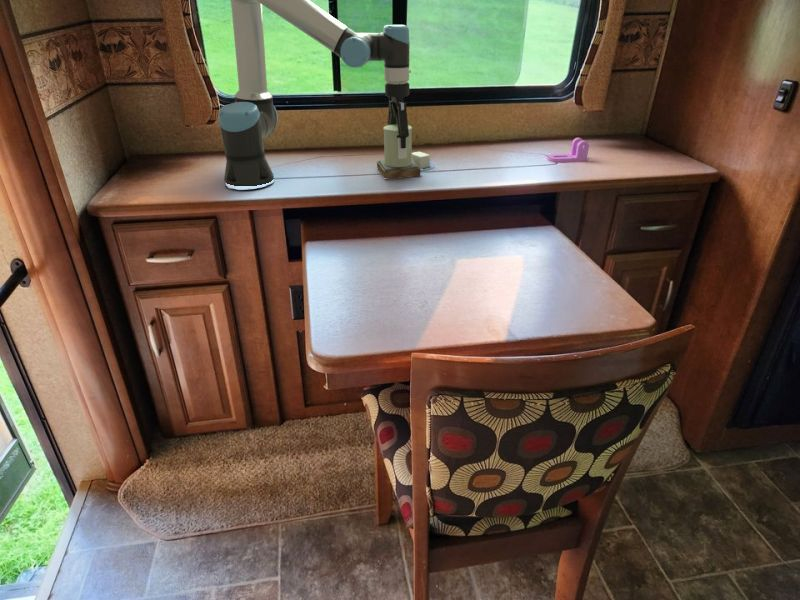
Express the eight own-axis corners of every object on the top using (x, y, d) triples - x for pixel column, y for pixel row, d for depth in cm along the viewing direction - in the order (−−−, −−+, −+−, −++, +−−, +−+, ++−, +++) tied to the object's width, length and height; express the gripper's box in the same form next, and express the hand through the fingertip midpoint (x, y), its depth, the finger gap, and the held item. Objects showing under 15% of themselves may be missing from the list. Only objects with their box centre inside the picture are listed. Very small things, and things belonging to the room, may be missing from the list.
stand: (384, 179, 166) (384, 170, 165) (377, 168, 176) (376, 159, 175) (420, 176, 169) (420, 167, 167) (411, 165, 179) (411, 157, 177)
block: (420, 168, 176) (420, 157, 174) (410, 164, 180) (410, 153, 178) (429, 166, 178) (429, 155, 176) (419, 162, 182) (419, 151, 180)
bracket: (579, 157, 186) (582, 137, 183) (586, 161, 181) (589, 141, 178) (544, 158, 185) (547, 138, 181) (550, 163, 180) (553, 142, 177)
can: (417, 162, 172) (417, 124, 166) (400, 169, 165) (400, 130, 159) (395, 158, 176) (395, 121, 170) (378, 164, 170) (377, 126, 164)
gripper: (419, 87, 149) (418, 162, 160) (400, 76, 169) (400, 143, 180) (393, 88, 147) (395, 164, 158) (377, 77, 168) (379, 144, 179)
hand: (398, 153), depth 169 cm, fingers open, 12 cm apart
